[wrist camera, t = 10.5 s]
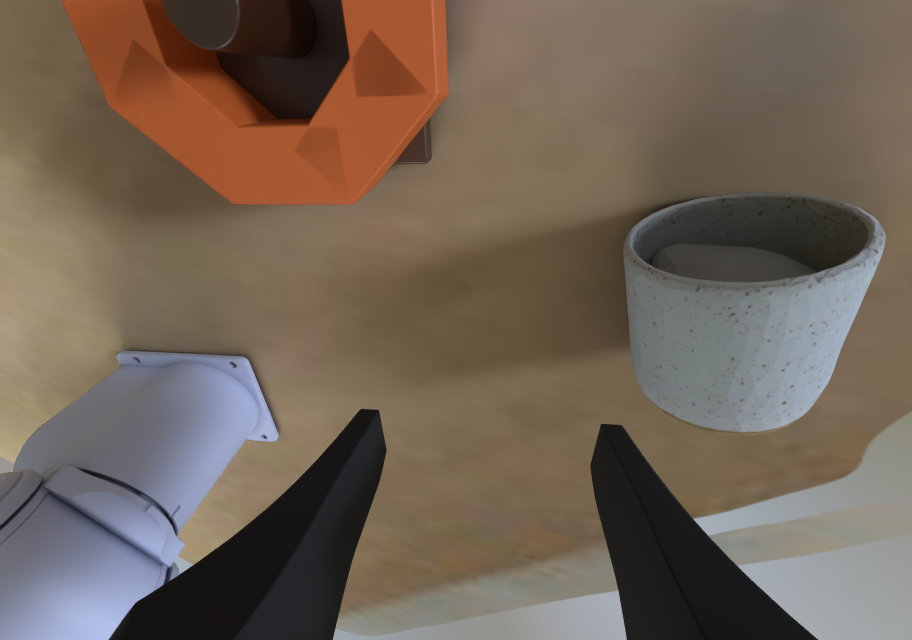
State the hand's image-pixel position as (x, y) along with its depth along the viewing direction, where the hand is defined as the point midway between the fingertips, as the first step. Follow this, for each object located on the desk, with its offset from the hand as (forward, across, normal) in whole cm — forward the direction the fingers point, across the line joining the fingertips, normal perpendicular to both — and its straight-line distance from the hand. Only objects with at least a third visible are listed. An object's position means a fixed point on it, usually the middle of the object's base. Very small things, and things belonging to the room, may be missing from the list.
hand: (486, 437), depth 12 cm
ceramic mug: (+10, -11, -2) cm, 15 cm away
